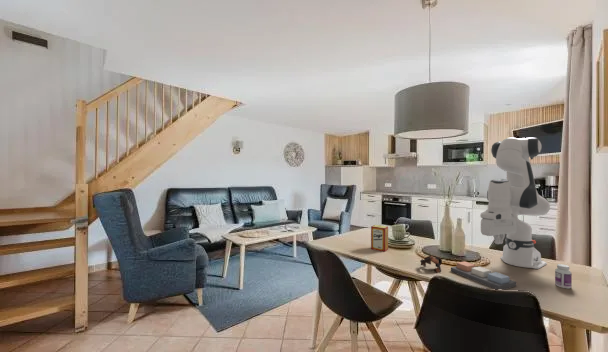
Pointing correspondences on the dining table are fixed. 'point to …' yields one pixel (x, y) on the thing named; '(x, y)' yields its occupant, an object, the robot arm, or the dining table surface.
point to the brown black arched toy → (435, 260)
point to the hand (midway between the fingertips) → (498, 243)
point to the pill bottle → (563, 276)
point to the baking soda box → (379, 238)
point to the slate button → (498, 278)
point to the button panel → (483, 279)
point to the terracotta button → (465, 266)
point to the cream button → (481, 271)
